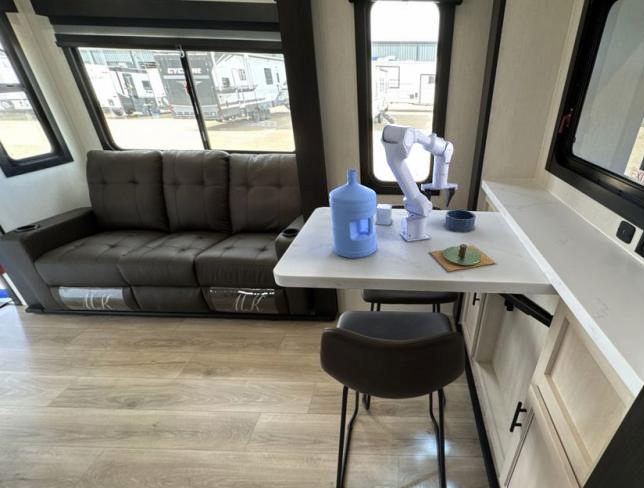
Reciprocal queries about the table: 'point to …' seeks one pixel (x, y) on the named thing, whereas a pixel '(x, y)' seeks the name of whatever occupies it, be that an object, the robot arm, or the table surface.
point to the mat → (453, 267)
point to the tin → (460, 220)
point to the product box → (383, 214)
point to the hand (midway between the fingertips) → (437, 206)
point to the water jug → (353, 218)
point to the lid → (462, 255)
